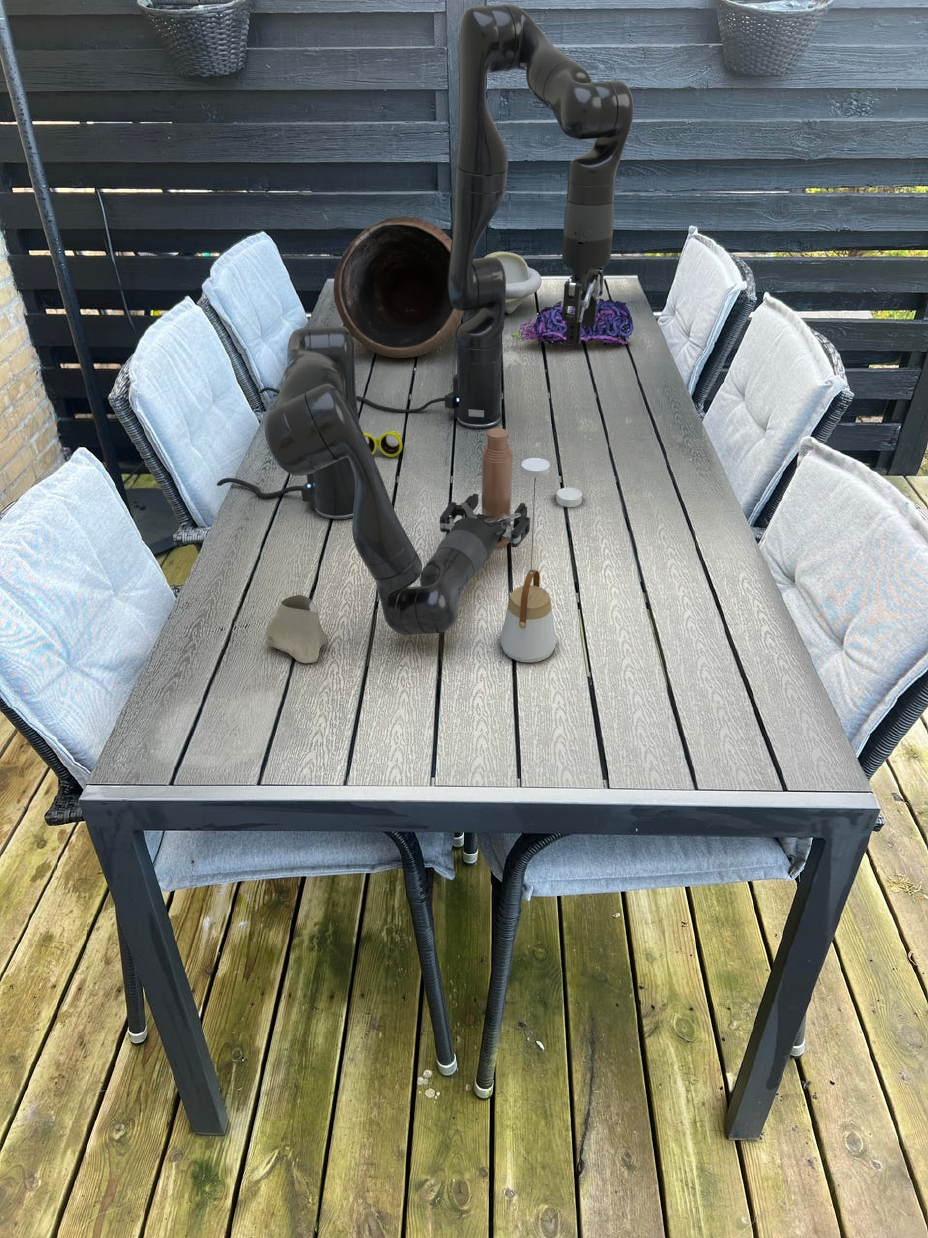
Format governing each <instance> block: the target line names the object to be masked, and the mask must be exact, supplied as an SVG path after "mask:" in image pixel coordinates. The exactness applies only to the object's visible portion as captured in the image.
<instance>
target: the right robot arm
mask: <svg viewBox="0 0 928 1238" xmlns="http://www.w3.org/2000/svg"><path fill="white" fill-rule="evenodd" d="M457 45H458V46H457V47H458V89H459V96H458V97H459V104H458V105H459V106H458V107H459V110H458V111H459V113H458V135H457V136H458V137H457V147H456V148H457V149H456V160H455V178H454V180H455V181H454V213H453V228H452V237H451V240H452V244H451V251H450V258H449V266H448V276H447V291H448V298H449V301H450V304H451V305H452V307H453V308H454V309H455V310H458V311H464V312H468V311H474V310H477V311H476V312H475V313H474V314H473V315H471V317H469V318H468V319H466V320H464V321H463V322H460V325H459V326H458V328H457V329H456V331H455V337H456V338H455V339H456V340H455V341H456V344H455V345H456V374H455V375H454V376H453V377H452V391H451V392H449V393H447V394H446V395H444V397H438V398H435V399H432V400H429V401H427V402H426V403H425V404H423V405H422V406H420V407H417V408H413V409H412V408H411V409H400V408H394V407H390V406H385V405H381V404H380V405H379V404H377V403H375V402H373V401H371V400H370V399H367V398H365V397H363V396H359V395H356V399H357V400H359V401H362V402H364V403H365V404H368V405H370V406H372V407H373V408H376V409H378V410H383V411H387V412H394V413H403V414H411V413H418V412H419V413H420V412H422V411H424V410H425V409H427V408H428V407H429V406H431V405H432V404H436V403H440V402H444V407H445V408H447V409H449V410H453V419H454V420H456V421H457V422H458V424H460V425H461V426H463V427H466V428H471V429H487V428H491V427H494V426H497V425H498V424H500V423H501V421H502V410H501V409H502V351H503V350H502V348H503V347H502V345H503V343H502V342H503V332H504V328H505V299H506V276H505V270H504V267H503V265H502V263H501V261H500V260H499V259H497V258H495V257H487V258H484V257H479V258H475V257H474V256H475V252H476V249H477V245H478V244H479V241H480V238H481V237H482V235H483V233H484V232H485V230H486V229H487V227H488V226H489V224H490V223H491V221H492V219H493V218H494V217H495V215H496V213H497V212H498V210H499V208H500V207H501V205H502V202H503V201H504V198H505V196H506V190H507V184H508V183H507V181H508V171H509V153H508V149H507V146H506V144H505V141H504V139H503V137H502V134H501V133H500V131H499V129H498V127H497V125H496V123H495V121H494V119H493V117H492V114H491V111H490V109H489V106H488V102H487V101H488V100H487V99H488V98H487V89H486V88H487V76H488V74H490V73H500V72H501V73H502V72H510V71H513V70H521V71H525V78H526V84H527V87H528V89H529V91H530V93H531V94H532V96H533V97H534V98H535V99H536V100H537V101H538V102H540V103H541V104H542V105H543V106H545V107H546V108H548V109H549V110H550V111H551V112H552V113H553V115H554V118H555V119H556V121H557V123H558V125H559V127H560V130H561V131H562V133H563V134H564V135H565V136H567V137H568V138H571V139H574V140H577V141H579V140H580V141H584V140H591V139H595V140H594V142H593V145H592V146H591V148H590V149H589V150H588V151H587V152H585V153H583V154H580V155H578V156H576V157H574V158H573V159H572V160H571V161H570V163H569V167H568V173H567V174H568V175H567V192H566V193H567V194H566V205H565V210H564V216H563V232H562V233H563V234H562V251H561V254H562V256H561V261H562V263H563V265H565V266H567V267H569V268H571V269H572V273H571V276H570V277H569V280H565V282H564V284H563V301H562V307H563V312H562V321H567V332H566V343H567V344H566V345H570V346H576V345H577V346H578V345H580V343H581V341H580V340H581V326H582V325H583V326H586V327H594V325H595V323H596V311H597V304H598V302H599V299H600V297H602V296H603V293H604V291H603V289H604V278H605V277H604V276H605V275H604V274H605V267H608V265H609V264H610V263H611V258H612V246H613V244H612V243H613V234H614V224H615V223H614V221H615V208H614V207H615V205H614V204H615V191H616V179H617V178H616V177H617V171H618V167H619V164H620V162H621V158H622V155H623V152H624V149H625V146H626V143H627V140H628V138H629V134H630V131H631V128H632V124H633V121H634V114H635V105H634V98H633V94H632V91H631V90H630V88H629V86H628V85H627V84H626V83H625V82H623V81H620V80H606V81H596V82H593V81H592V78H591V75H590V74H589V72H588V71H587V70H586V68H584V67H583V66H582V65H580V64H579V63H578V62H577V61H575V60H573V59H572V58H570V57H569V56H567V55H566V54H564V52H561V51H560V50H559V49H558V48H557V47H556V46H555V45H554V44H553V43H552V41H550V40H549V38H548V37H547V36H546V35H545V33H544V32H543V31H542V30H541V28H540V27H539V26H538V25H537V24H536V22H535V21H534V20H533V18H532V17H531V16H530V15H529V14H528V13H527V12H526V11H525V10H524V9H523V8H522V7H520V6H518V5H515V4H491V5H480V6H478V5H477V6H471V7H469V8H467V9H466V10H465V11H464V12H463V15H462V16H461V20H460V24H459V30H458V44H457ZM596 303H597V304H596ZM573 308H575V314H571V312H572V309H573ZM267 391H270V392H274V393H276V394H278V395H279V392H280V389H276V388H274V387H269V386H267V387H266V386H265V387H263V388H262V389H260V390H259V391H258V394H263V393H265V392H267Z"/></svg>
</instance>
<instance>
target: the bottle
mask: <svg viewBox="0 0 928 1238" xmlns="http://www.w3.org/2000/svg"><path fill="white" fill-rule="evenodd" d="M485 433H486V435H485V436H486V444H485V446H484V448H483V450H482V453H481V514H483V515H485V516H493V517H497V516H500V515H503V514H506V515H507V516H508V515H511V514H512V494H513V493H512V491H513V489H512V488H513V487H512V486H513V451H512V449H511V447H510V445H509V437H510V435H509V432H508V430H507V429H505V428H501V427H493V428H490V429H488V430H487V431H486V432H485ZM500 524H501V526H502V522H500ZM511 524H512V521H511V522H510V525H511ZM509 544H510V542H508V541H504V540H503V541H502V542H500V543H498V544H497V545H496V547H495V548H502V547H503V548H504V547H506V546H508V545H509Z"/></svg>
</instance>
